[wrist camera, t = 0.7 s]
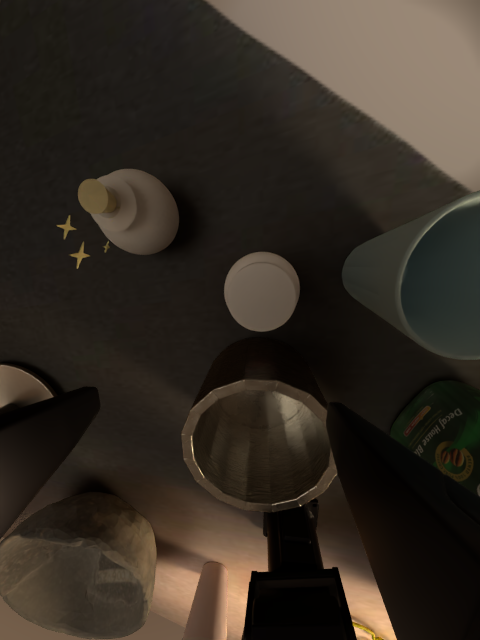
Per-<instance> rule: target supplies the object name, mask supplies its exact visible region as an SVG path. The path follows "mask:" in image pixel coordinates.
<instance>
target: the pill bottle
mask: <svg viewBox="0 0 480 640" xmlns="http://www.w3.org/2000/svg"><path fill="white" fill-rule="evenodd" d="M299 294H300V284H299V279H298V276H297V274H296V272H295V270H294V268H293V267H292V266H291V264H290V263H289V262H288V261H287V260H285V259H284V258H282V257H281V256H279V255H276V254H273V253H270V252H255V253H251V254H248V255H246V256H244V257H243V258H241V259H240V260H238V261H237V262H236V263H235V264H234V265H233V267H232V268H231V269H230V271H229V273H228V275H227V278H226V281H225V286H224V296H225V301H226V304H227V306H228V308H229V311H230V313H231V314H232V316H233V318H234V319H235V320H236V321H237V322H238V323H239V324H240V325H242V326H243V327H245V328H247V329H249V330H253V331H259V332H264V331H270V330H274V329H276V328H278V327H280V326H282V325H283V324H284V323H285V322H286V321H287V320H288V319H289V318H290V317H291V315H292V314H293V311H294V309H295V307H296V304H297V302H298V299H299Z"/></svg>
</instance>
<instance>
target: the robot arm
mask: <svg viewBox="0 0 480 640" xmlns="http://www.w3.org/2000/svg"><path fill="white" fill-rule="evenodd" d="M99 410H100V400H99V393H98V389H97V388H96V387H82V388H79V389H76V390H73V391H70V392H67V393H64V394H61V395H58V396H55V397H52V398H49V399H46V400H43V401H40V402H36V403H33V404H30V405H27V406H24V407H21V408H18V409H15V410H12V411H9V412H6V413H3V414H0V539H1V538H2V536H3V535H4V534H5V533H6V531H7V530H8V529H9V528H10V527H11V525H12V524H13V523H14V522H15V520H16V519H17V518H18V517H19V515H20V514H21V513H22V512H23V510H24V509H25V508H26V507H27V505H28V504H29V503H30V502H31V501H32V499H33V498H34V497H35V496H36V494H37V493H38V492H39V491H40V489H41V488H42V487H43V486H44V484H45V483H46V482H47V481H48V479H49V478H50V477H51V476H52V475H53V473H54V472H55V471H56V470H57V468H58V467H59V466H60V465H61V463H62V462H63V461H64V460H65V458H66V457H67V456H68V455H69V453H70V452H71V451H72V450H73V448H74V447H75V445H76V444H77V443H78V441H79V440H80V438H81V437H82V435H83V434H84V432H85V431H86V430H87V428H88V427H89V425H90V424H91V422H92V421H93V419H94V418H95V416H96V415H97V413H98V412H99ZM326 429H327V433H328V437H329V441H330V445H331V449H332V453H333V457H334V461H335V465H336V469H337V473H338V476H339V479H340V481H341V484H342V487H343V490H344V493H345V495H346V498H347V501H348V504H349V507H350V509H351V512H352V515H353V518H354V521H355V523H356V526H357V529H358V532H359V535H360V537H361V540H362V543H363V546H364V549H365V551H366V554H367V557H368V560H369V563H370V565H371V568H372V571H373V574H374V577H375V579H376V582H377V585H378V588H379V591H380V593H381V596H382V599H383V602H384V604H385V607H386V610H387V613H388V616H389V618H390V621H391V624H392V627H393V630H394V632H395V635H396V638H397V640H480V497H479V496H478V495H476V494H475V493H473V492H472V491H470V490H469V489H467V488H466V487H464V486H463V485H461V484H460V483H458V482H457V481H455V480H454V479H453V478H451V477H450V476H448V475H447V474H444V475H443V472H442V471H441V470H439V469H438V468H436V467H435V466H433V465H432V464H430V463H429V462H427V461H426V460H424V459H423V458H422V457H420V456H419V455H417V454H416V453H414V452H413V451H411V450H410V449H408V448H407V447H405V446H404V445H402V444H401V443H399V442H398V441H396V440H395V439H394V438H392V437H391V436H389V435H388V434H386V433H385V432H383V431H382V430H380V429H379V428H377V427H376V426H374V425H373V424H371V423H370V422H368V421H367V420H366V419H364V418H363V417H361V416H360V415H358V414H357V413H355V412H354V411H352V410H351V409H349V408H348V407H346V406H345V405H343V404H342V403H337V402H330V403H329V404H328V409H327V417H326ZM318 509H319V504H318V501H317V500H316V499H312V500H310V501H309V502H307V503H306V504H304V505H302V506H300V507H295V508H291V509H286V510H282V511H277V512H264V519H263V535H264V536H265V537H267V541H268V572H257V571H252V573H251V582H249V590H248V599H247V608H246V617H245V626H244V631H243V635H242V640H357V638H356V634H355V630H354V627H353V623H352V619H351V615H350V612H349V608H348V604H347V600H346V597H345V593H344V589H343V585H342V582H341V578H340V574H339V571H338V567H332V569H324V567H323V562H322V557H321V552H320V548H319V543H318V538H317V533H316V527H317V518H318Z"/></svg>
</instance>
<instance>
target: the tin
mask: <svg viewBox="0 0 480 640" xmlns="http://www.w3.org/2000/svg"><path fill="white" fill-rule="evenodd" d="M327 409H328V404H327V402H326V400H325V398H324V396H323V394H322V392H321V390H320V388H319V386H318V384H317V381H316V379H315V377H314V375H313V373H312V371H311V369H310V367H309V365H308V363H307V362H306V361H305V360H304V358H303V357H302V356H301V355H300V354H299V353H298V352H297V351H296V350H295V349H293V348H292V347H290V346H289V345H287V344H285V343H283V342H281V341H278V340H275V339H270V338H262V337H256V338H248V339H244V340H240V341H238V342H236V343H233V344H232V345H230V346H228V347H227V348H226V349H224V350H223V351H222V352H221V353H220V354H219V355H218V356H217V358H216V359H215V360H214V361H213V363H212V365H211V367H210V370H209V372H208V374H207V376H206V378H205V380H204V382H203V384H202V386H201V389H200V391H199V393H198V395H197V397H196V399H195V401H194V403H193V405H192V408H191V410H190V412H189V415H188V417H187V420H186V422H185V425H184V427H183V430H182V432H181V438H182V449H183V458H184V461H185V463H186V465H187V466H188V468H189V470H190V472H191V473H192V475H193V477H194V479H195V481H197V483H199V484H200V485H201V486H202V487H203V488H205V489H206V490H207V491H208V492H209V493H211V494H212V495H213V496H214V497H215V498H217V499H218V500H220V501H223V502H225V503H228V504H230V505H233V506H235V507H238V508H240V509H243V510H250V511H262V512H277V511H282V510H286V509H291V508H295V507H300V506H302V505H304V504H306V503H307V502H309V501H310V500H312V499H314V498H315V497H317V496H318V495H320V494H322V493H323V492H324V491H325V490H326V489H327V487H328V486H329V484H330V483H331V482H332V480H333V479H334V477H335V476H336V474H337V469H336V465H335V461H334V457H333V453H332V449H331V445H330V441H329V437H328V433H327V429H326V417H327Z"/></svg>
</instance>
